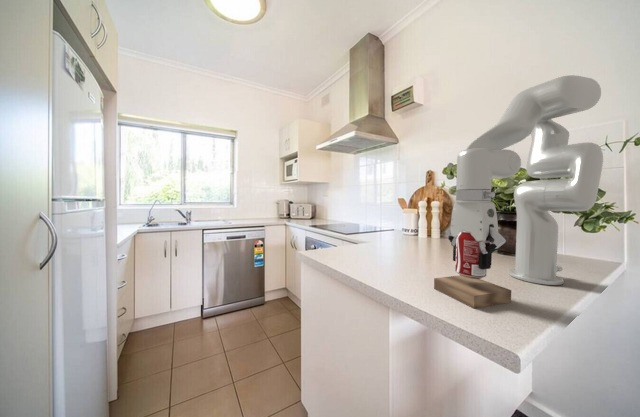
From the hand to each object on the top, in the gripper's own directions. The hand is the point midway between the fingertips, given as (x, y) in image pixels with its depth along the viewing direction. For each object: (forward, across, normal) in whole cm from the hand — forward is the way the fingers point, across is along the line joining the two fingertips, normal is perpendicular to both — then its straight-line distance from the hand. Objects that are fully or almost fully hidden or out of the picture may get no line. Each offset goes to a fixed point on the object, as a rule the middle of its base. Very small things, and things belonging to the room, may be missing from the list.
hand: (470, 263), depth 58 cm
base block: (+8, 0, 0) cm, 8 cm away
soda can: (+3, 0, 0) cm, 3 cm away
